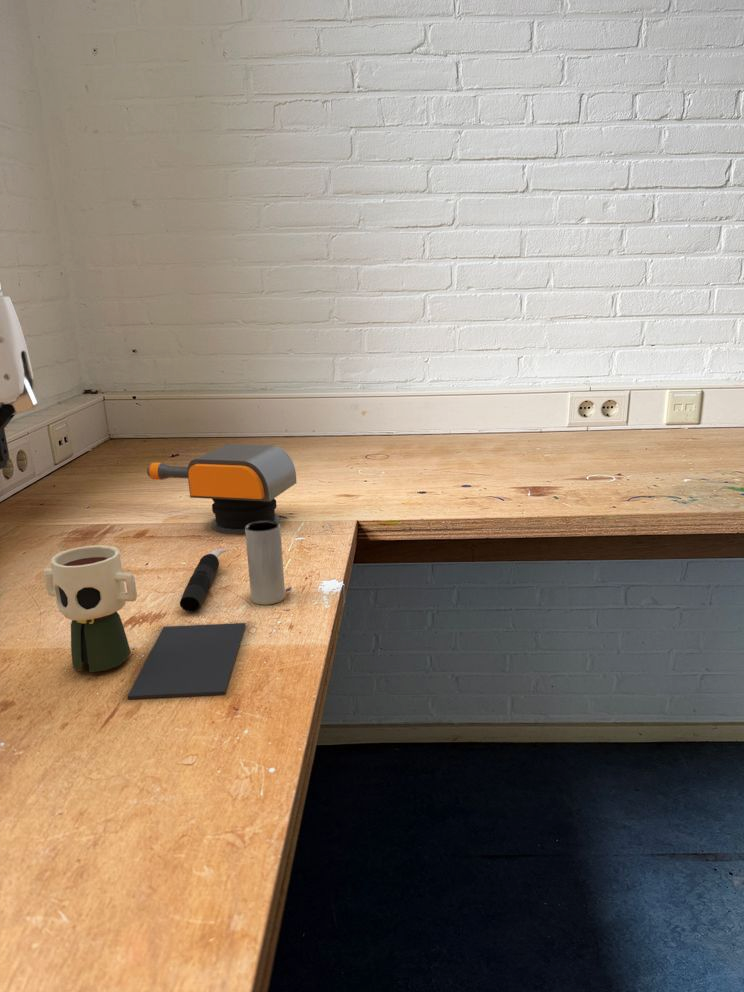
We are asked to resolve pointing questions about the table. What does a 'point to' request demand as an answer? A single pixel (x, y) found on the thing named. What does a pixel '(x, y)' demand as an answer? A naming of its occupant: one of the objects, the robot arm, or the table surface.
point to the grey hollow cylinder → (265, 562)
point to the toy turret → (236, 482)
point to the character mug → (92, 603)
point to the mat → (189, 661)
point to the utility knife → (200, 581)
